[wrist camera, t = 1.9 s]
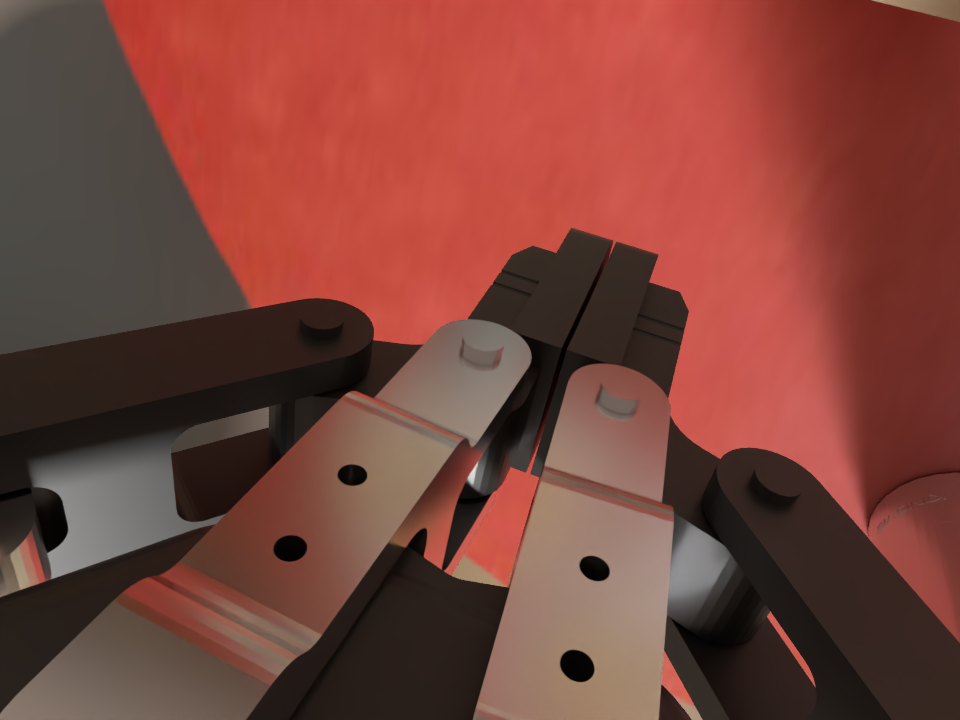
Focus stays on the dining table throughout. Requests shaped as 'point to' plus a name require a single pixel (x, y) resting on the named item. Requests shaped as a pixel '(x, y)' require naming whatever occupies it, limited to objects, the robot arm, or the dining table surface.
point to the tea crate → (930, 7)
